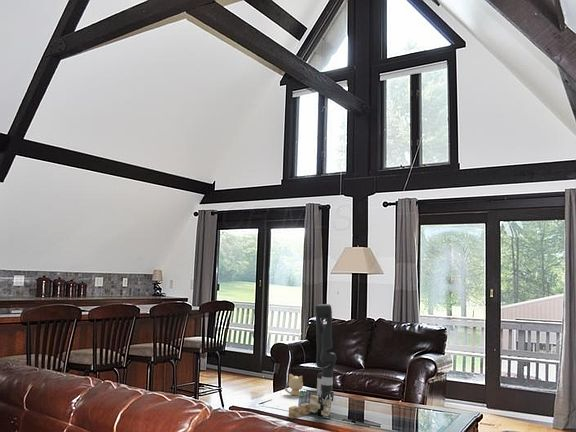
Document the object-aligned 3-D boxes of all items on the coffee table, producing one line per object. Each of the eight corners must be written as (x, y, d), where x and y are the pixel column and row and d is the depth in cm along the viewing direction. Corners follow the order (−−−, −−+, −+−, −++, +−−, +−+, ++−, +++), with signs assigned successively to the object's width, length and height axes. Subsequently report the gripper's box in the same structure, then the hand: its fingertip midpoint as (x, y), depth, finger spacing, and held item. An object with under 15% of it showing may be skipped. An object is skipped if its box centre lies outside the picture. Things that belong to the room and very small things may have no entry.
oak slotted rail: (305, 412, 337) (306, 402, 338) (310, 413, 335) (310, 404, 335) (288, 417, 323) (289, 407, 324) (292, 418, 321) (293, 408, 322)
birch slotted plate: (312, 410, 343) (313, 394, 344) (329, 415, 334) (330, 399, 335) (309, 411, 340) (310, 395, 341) (326, 416, 331) (327, 400, 333)
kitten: (307, 395, 383) (308, 374, 385) (302, 398, 374) (303, 377, 376) (289, 392, 389) (290, 372, 391) (283, 394, 380) (285, 374, 382)
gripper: (328, 381, 344) (326, 406, 343) (315, 383, 333) (314, 409, 332) (337, 383, 340) (336, 408, 338) (325, 386, 329) (323, 412, 327)
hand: (325, 409), depth 335 cm, fingers open, 7 cm apart
